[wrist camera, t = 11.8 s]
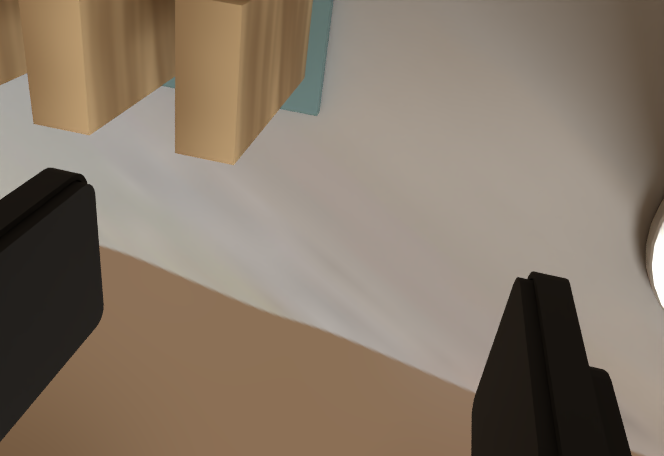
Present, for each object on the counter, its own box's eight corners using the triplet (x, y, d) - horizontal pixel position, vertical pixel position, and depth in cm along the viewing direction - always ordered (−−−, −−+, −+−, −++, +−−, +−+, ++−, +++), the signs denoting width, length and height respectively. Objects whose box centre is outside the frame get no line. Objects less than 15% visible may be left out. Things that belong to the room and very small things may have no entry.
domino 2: (203, -58, 27) (77, -25, 18) (201, 58, 29) (89, 135, 21) (159, -65, 27) (13, -36, 18) (160, 50, 29) (33, 123, 21)
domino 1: (317, -38, 26) (242, 5, 18) (304, 78, 29) (233, 165, 20) (271, -46, 26) (175, -7, 18) (262, 70, 29) (175, 152, 20)
